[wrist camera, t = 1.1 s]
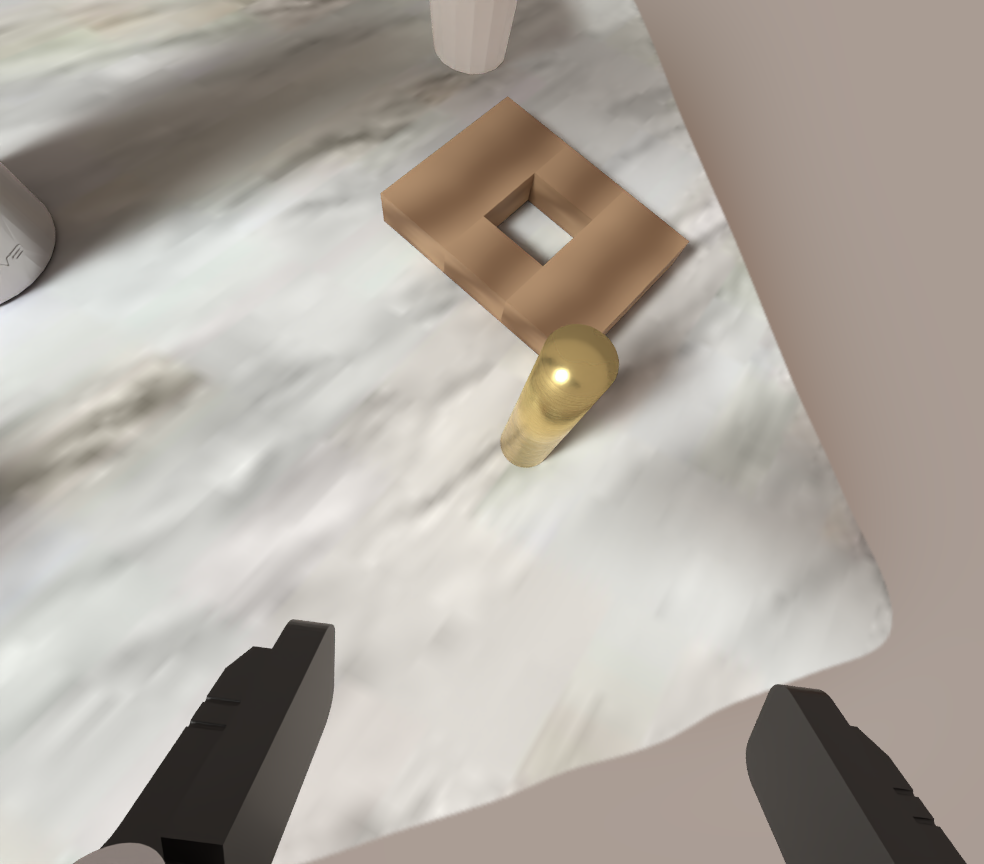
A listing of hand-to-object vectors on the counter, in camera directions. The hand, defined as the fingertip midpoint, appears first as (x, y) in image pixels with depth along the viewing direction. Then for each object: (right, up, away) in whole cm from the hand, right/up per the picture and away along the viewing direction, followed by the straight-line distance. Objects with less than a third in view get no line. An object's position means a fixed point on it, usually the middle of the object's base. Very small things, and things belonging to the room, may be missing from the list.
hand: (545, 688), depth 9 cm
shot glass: (-3, +34, +30) cm, 46 cm away
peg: (+1, +4, +21) cm, 22 cm away
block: (+2, +18, +26) cm, 31 cm away
